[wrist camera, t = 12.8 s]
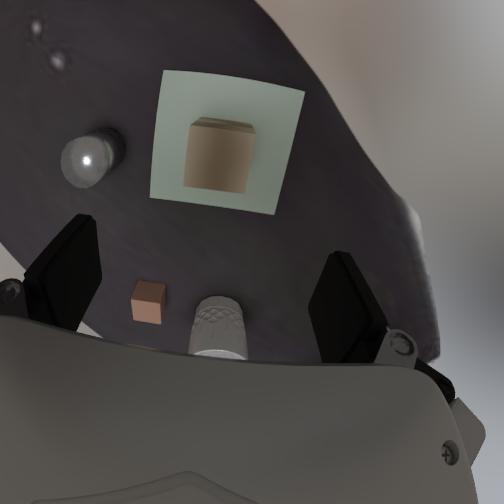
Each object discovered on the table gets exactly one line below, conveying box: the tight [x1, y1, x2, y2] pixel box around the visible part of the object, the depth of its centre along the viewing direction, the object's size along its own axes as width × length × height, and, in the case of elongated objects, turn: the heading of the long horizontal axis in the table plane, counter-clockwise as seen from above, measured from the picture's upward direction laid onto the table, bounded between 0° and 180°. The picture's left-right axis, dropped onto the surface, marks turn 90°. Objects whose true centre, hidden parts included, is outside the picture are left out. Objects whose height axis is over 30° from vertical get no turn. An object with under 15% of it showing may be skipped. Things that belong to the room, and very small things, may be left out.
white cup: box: [187, 296, 249, 360], centre depth 36 cm, size 8×8×10 cm
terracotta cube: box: [131, 280, 166, 324], centre depth 36 cm, size 4×4×4 cm
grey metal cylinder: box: [61, 127, 126, 188], centre depth 24 cm, size 5×5×6 cm
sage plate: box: [150, 70, 305, 215], centre depth 27 cm, size 14×14×1 cm
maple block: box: [183, 117, 256, 194], centre depth 23 cm, size 5×5×7 cm
